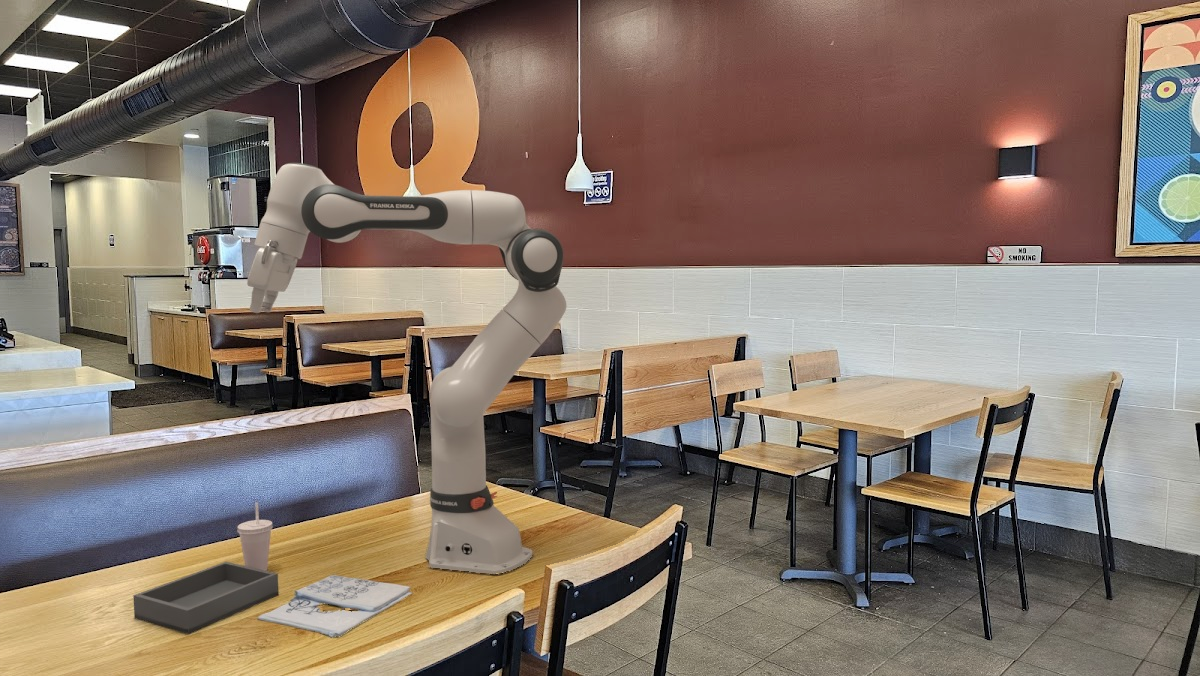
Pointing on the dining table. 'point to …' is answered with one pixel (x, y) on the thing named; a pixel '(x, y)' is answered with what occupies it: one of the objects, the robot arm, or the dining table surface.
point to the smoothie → (255, 541)
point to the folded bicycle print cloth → (342, 594)
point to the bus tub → (205, 597)
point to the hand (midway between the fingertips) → (260, 312)
